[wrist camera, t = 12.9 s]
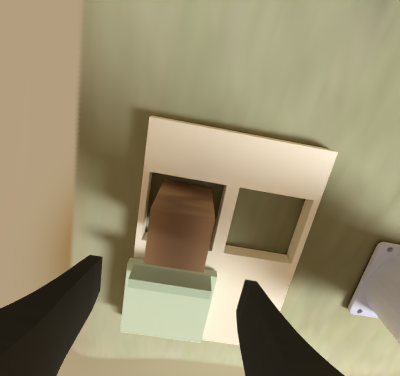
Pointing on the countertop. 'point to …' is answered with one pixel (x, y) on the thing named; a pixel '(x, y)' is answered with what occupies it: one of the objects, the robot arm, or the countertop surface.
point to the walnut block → (180, 226)
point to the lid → (166, 301)
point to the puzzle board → (233, 180)
